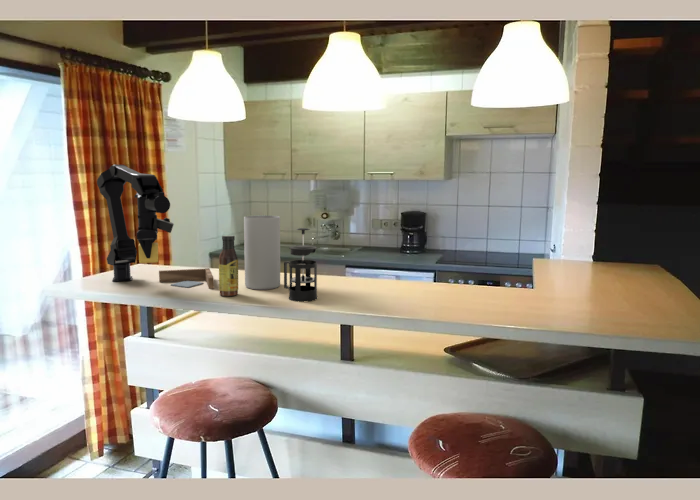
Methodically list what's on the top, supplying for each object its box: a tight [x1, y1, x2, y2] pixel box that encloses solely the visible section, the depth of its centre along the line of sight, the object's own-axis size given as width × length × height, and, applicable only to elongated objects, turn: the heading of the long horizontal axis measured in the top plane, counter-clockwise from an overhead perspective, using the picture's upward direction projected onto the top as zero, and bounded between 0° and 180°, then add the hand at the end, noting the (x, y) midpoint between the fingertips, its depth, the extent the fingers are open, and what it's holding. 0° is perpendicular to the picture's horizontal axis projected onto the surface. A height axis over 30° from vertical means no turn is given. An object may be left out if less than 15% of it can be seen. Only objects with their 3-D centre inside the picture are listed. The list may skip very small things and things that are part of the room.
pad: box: [170, 280, 204, 289], centre depth 185 cm, size 8×8×1 cm
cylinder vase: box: [243, 214, 281, 291], centre depth 183 cm, size 12×12×25 cm
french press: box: [283, 227, 318, 303], centre depth 166 cm, size 12×9×23 cm
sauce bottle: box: [218, 234, 239, 297], centre depth 170 cm, size 7×6×20 cm
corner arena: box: [158, 267, 215, 290], centre depth 185 cm, size 18×18×4 cm
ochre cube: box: [137, 242, 159, 264], centre depth 178 cm, size 6×6×6 cm
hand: (148, 256), depth 178 cm, fingers closed on ochre cube, 6 cm apart
